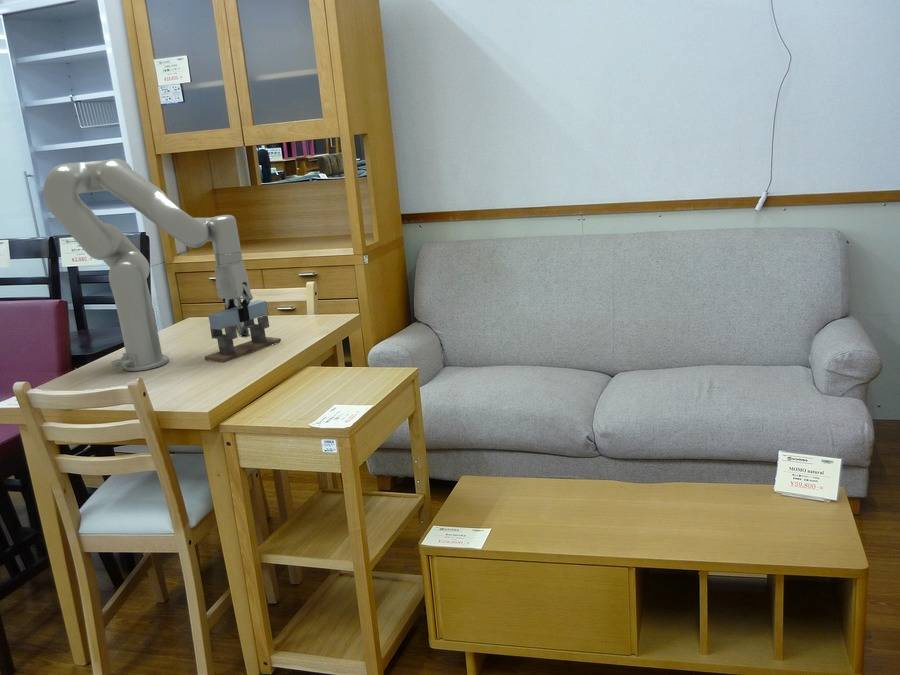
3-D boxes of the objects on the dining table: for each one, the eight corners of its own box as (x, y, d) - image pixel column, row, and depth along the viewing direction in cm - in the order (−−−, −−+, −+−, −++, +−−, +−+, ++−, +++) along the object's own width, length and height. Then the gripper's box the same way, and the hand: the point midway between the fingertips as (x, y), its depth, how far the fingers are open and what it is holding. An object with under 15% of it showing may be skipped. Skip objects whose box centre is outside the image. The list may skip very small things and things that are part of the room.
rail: (219, 329, 229) (217, 316, 228) (210, 328, 231) (208, 315, 230) (268, 313, 243) (265, 300, 242) (259, 313, 245) (257, 300, 244)
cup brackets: (222, 362, 229) (217, 331, 226) (205, 359, 233) (199, 329, 231) (281, 341, 245) (276, 312, 243) (263, 339, 250) (259, 311, 248)
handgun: (253, 361, 263) (249, 322, 255) (243, 363, 262) (239, 324, 254) (232, 313, 286) (228, 276, 278) (223, 315, 285) (219, 278, 277)
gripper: (200, 260, 234) (211, 322, 239) (237, 262, 224) (248, 325, 229) (220, 255, 240) (231, 315, 245) (258, 256, 230) (268, 319, 235)
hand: (239, 319), depth 237 cm, fingers closed on rail, 4 cm apart
